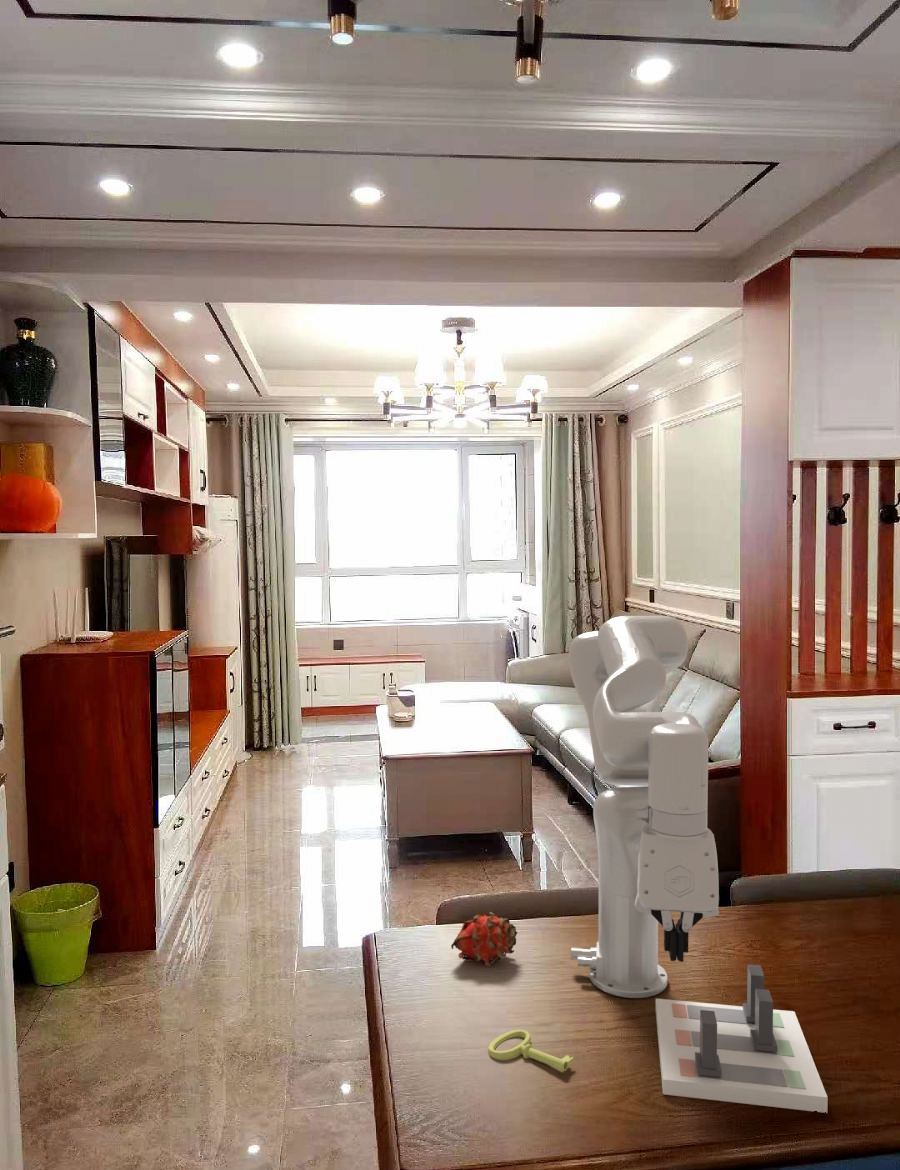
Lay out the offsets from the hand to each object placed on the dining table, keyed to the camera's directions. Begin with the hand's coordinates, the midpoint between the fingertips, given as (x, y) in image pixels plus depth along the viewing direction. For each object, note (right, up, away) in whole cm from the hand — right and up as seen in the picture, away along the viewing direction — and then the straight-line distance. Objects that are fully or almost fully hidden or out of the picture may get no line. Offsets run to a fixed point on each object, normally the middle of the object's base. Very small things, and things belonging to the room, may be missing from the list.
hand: (675, 956), depth 112 cm
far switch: (+15, -14, +12) cm, 23 cm away
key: (-19, -17, +7) cm, 27 cm away
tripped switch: (+4, -15, 0) cm, 15 cm away
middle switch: (+13, -14, +5) cm, 20 cm away
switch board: (+9, -17, +6) cm, 20 cm away
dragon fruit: (-24, -16, +34) cm, 44 cm away
